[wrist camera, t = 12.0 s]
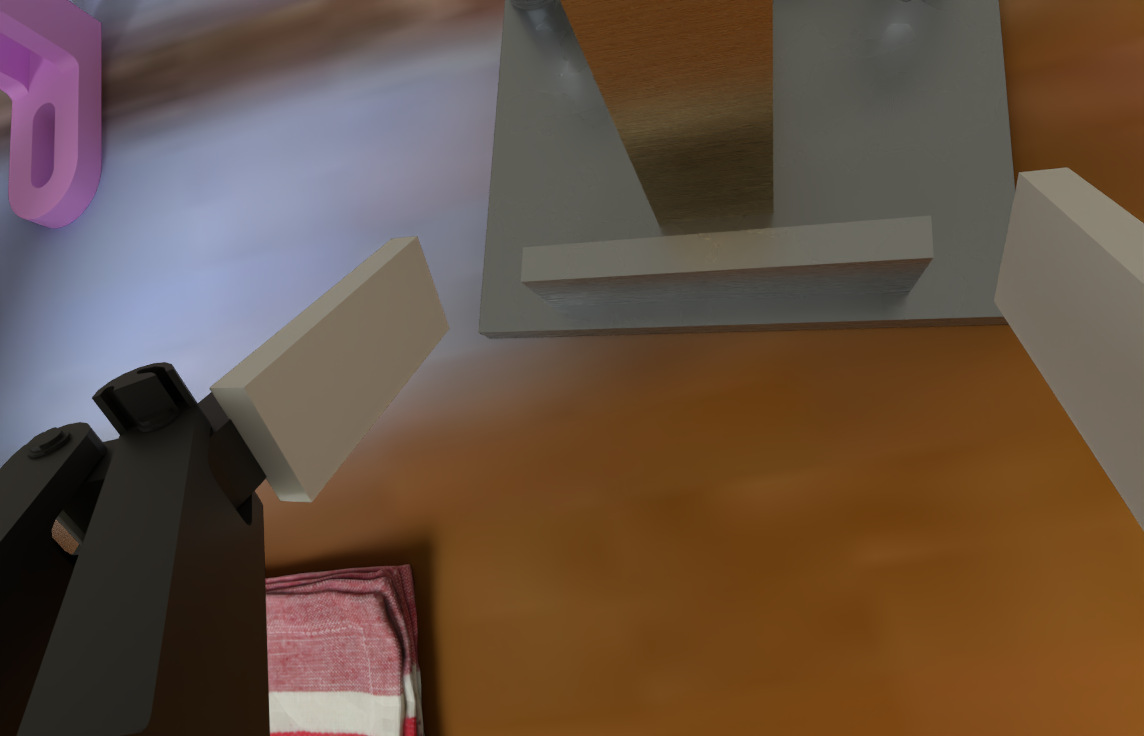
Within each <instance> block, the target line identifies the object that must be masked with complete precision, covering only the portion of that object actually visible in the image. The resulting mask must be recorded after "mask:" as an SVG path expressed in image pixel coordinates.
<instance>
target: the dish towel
mask: <svg viewBox="0 0 1144 736" xmlns="http://www.w3.org/2000/svg"><path fill="white" fill-rule="evenodd" d="M265 584H266V617H267V650H268V683H269V715H270V736H425V734H424V727H423V716H422V705H421V678H420V669H419V665H418V653H417V638H418V630H417V613H416V604H415V589H414V580H413V575H412V568H411V566H410V565H409V564H405V565H400V566H376V567H363V568H348V569H340V570H333V571H324V572H308V573H301V574H294V575H287V576H280V577H274V578H266V579H265Z"/></svg>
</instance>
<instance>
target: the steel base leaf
mask: <svg viewBox="0 0 1144 736" xmlns="http://www.w3.org/2000/svg"><path fill="white" fill-rule="evenodd" d="M773 193H774V213H773V214H761V215H749V216H738V217H726V218H714V219H702V220H691V221H679V222H667V223H658V222H657V220H656V217H655V215H654V213H653V211H652V208H651V206H650V204H649V201H648V199H647V197H646V195H645V192H644V190H643V188H642V185H641V183H640V181H639V179H638V176H637V174H636V172H635V170H634V167H633V165H632V163H631V160H630V158H629V156H628V154H627V151H626V149H625V147H624V145H623V142H622V140H621V138H620V135H619V133H618V131H617V129H616V126H615V124H614V122H613V120H612V117H611V115H610V113H609V110H608V108H607V106H606V104H605V101H604V99H603V97H602V95H601V92H600V90H599V88H598V85H597V83H596V81H595V79H594V76H593V74H592V72H591V70H590V67H589V65H588V63H587V60H586V58H585V56H584V54H583V51H582V49H581V47H580V45H579V42H578V40H577V38H576V35H575V33H574V31H573V29H572V26H571V24H570V22H569V20H568V17H567V15H566V13H565V10H564V8H563V6H562V4H561V1H560V0H505V9H504V21H503V33H502V46H501V58H500V71H499V83H498V96H497V108H496V120H495V133H494V145H493V158H492V170H491V183H490V195H489V208H488V220H487V232H486V245H485V257H484V270H483V282H482V295H481V307H480V320H479V332H478V333H480V334H482V335H484V336H486V337H488V338H526V337H563V336H600V335H637V334H674V333H711V332H748V331H785V330H822V329H859V328H897V327H934V326H971V325H1008V322H1007V321H1006V319H1005V318H1004V316H1003V315H1002V313H1001V311H1000V310H999V308H998V307H997V305H996V304H995V302H994V297H995V292H996V287H997V281H998V276H999V271H1000V266H1001V261H1002V256H1003V251H1004V246H1005V241H1006V236H1007V231H1008V226H1009V221H1010V216H1011V211H1012V205H1013V200H1014V195H1015V183H1014V172H1013V160H1012V149H1011V137H1010V126H1009V114H1008V102H1007V91H1006V79H1005V68H1004V56H1003V45H1002V33H1001V22H1000V10H999V0H773Z"/></svg>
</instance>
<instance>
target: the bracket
mask: <svg viewBox="0 0 1144 736" xmlns="http://www.w3.org/2000/svg"><path fill="white" fill-rule="evenodd" d="M0 90H2V91H4V92H5V93H6V94H8V96H9V97H10V98H11V100H12V120H11V142H10V165H9V187H8V196H9V202H10V205H11V208H12V210H13V211H14V213H15V214H16V215H18V216H19V217H21V218H23V219H26V220H29V221H32V222H34V223H37V224H40V225H43V226H46V227H49V228H60V227H64V226H66V225H68V224H70V223H71V222H73V221H74V220H76V219H77V218H78V217H79V216H80V215H81V214H82V213H83V212H84V210H85V209H86V208H87V207H88V205H89V204H90V202H91V200H92V199H93V197H94V195H95V193H96V190H97V187H98V184H99V181H100V176H101V23H100V22H99V21H97V20H96V19H95V18H93V17H92V16H90V15H89V14H87V13H86V12H84V11H83V10H81V9H80V8H79V7H77V6H76V5H74V4H73V3H71V2H70V1H68V0H0Z"/></svg>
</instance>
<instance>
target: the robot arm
mask: <svg viewBox="0 0 1144 736" xmlns="http://www.w3.org/2000/svg"><path fill="white" fill-rule="evenodd" d="M994 302H995V304H996V305H997V307H998V308H999V310H1000V311H1001V313H1002V315H1003V316H1004V318H1005V319H1006V321H1007V322H1008V324H1009V325H1010V327H1011V328H1012V330H1013V331H1014V333H1015V334H1016V336H1017V338H1018V339H1019V341H1020V342H1021V344H1022V345H1023V347H1024V348H1025V350H1026V351H1027V353H1028V354H1029V356H1030V357H1031V359H1032V360H1033V362H1034V364H1035V365H1036V367H1037V368H1038V370H1039V371H1040V373H1041V374H1042V376H1043V377H1044V379H1045V380H1046V382H1047V383H1048V385H1049V387H1050V388H1051V390H1052V391H1053V393H1054V394H1055V396H1056V397H1057V399H1058V400H1059V402H1060V403H1061V405H1062V406H1063V408H1064V410H1065V411H1066V413H1067V414H1068V416H1069V417H1070V419H1071V420H1072V422H1073V423H1074V425H1075V426H1076V428H1077V429H1078V431H1079V433H1080V434H1081V436H1082V437H1083V439H1084V440H1085V442H1086V443H1087V445H1088V446H1089V448H1090V449H1091V451H1092V452H1093V454H1094V456H1095V457H1096V459H1097V460H1098V462H1099V463H1100V465H1101V466H1102V468H1103V469H1104V471H1105V472H1106V474H1107V475H1108V477H1109V479H1110V480H1111V482H1112V483H1113V485H1114V486H1115V488H1116V489H1117V491H1118V492H1119V494H1120V495H1121V497H1122V498H1123V500H1124V502H1125V503H1126V505H1127V506H1128V508H1129V509H1130V511H1131V512H1132V514H1133V515H1134V517H1135V518H1136V520H1137V521H1138V523H1139V525H1140V526H1141V528H1142V529H1143V531H1144V223H1143V222H1141V221H1140V220H1138V219H1137V218H1136V217H1134V216H1133V215H1132V214H1130V213H1129V212H1128V211H1126V210H1125V209H1123V208H1122V207H1121V206H1119V205H1118V204H1117V203H1115V202H1114V201H1113V200H1111V199H1110V198H1109V197H1107V196H1106V195H1104V194H1103V193H1102V192H1100V191H1099V190H1098V189H1096V188H1095V187H1094V186H1092V185H1091V184H1090V183H1088V182H1087V181H1085V180H1084V179H1083V178H1081V177H1080V176H1079V175H1077V174H1076V173H1075V172H1073V171H1072V170H1070V169H1069V168H1068V167H1066V168H1056V169H1047V170H1038V171H1028V172H1019V175H1018V180H1017V185H1016V190H1015V195H1014V200H1013V205H1012V211H1011V216H1010V221H1009V226H1008V231H1007V236H1006V241H1005V246H1004V251H1003V256H1002V261H1001V266H1000V271H999V276H998V281H997V287H996V292H995V297H994ZM448 330H449V326H448V323H447V320H446V317H445V314H444V311H443V309H442V306H441V303H440V300H439V297H438V294H437V291H436V288H435V286H434V283H433V280H432V277H431V274H430V271H429V268H428V265H427V263H426V260H425V257H424V254H423V251H422V248H421V245H420V242H419V240H418V237H417V236H413V237H404V238H394V239H391V240H390V241H388V242H387V243H386V244H385V245H384V246H382V247H381V248H380V249H379V250H377V251H376V252H375V253H374V254H373V255H371V256H370V257H369V258H368V259H366V260H365V261H364V262H363V263H362V264H360V265H359V266H358V267H357V268H355V269H354V270H353V271H352V272H351V273H349V274H348V275H347V276H346V277H344V278H343V279H342V280H341V281H340V282H338V283H337V284H336V285H335V286H333V287H332V288H331V289H330V290H329V291H327V292H326V293H325V294H324V295H322V296H321V297H320V298H319V299H318V300H316V301H315V302H314V303H313V304H311V305H310V306H309V307H308V308H307V309H305V310H304V311H303V312H302V313H300V314H299V315H298V316H297V317H296V318H294V319H293V320H292V321H291V322H289V323H288V324H287V325H286V326H285V327H283V328H282V329H281V330H280V331H278V332H277V333H276V334H275V335H274V336H272V337H271V338H270V339H269V340H267V341H266V342H265V343H264V344H263V345H261V346H260V347H259V348H258V349H256V350H255V351H254V352H253V353H252V354H250V355H249V356H248V357H247V358H245V359H244V360H243V361H242V362H241V363H239V364H238V365H237V366H236V367H234V368H233V369H232V370H231V371H230V372H228V373H227V374H226V375H225V376H223V377H222V378H221V379H220V380H219V381H217V382H216V383H215V384H214V385H212V386H211V387H210V390H211V393H210V394H209V395H208V396H206V397H205V398H204V399H203V400H201V401H200V402H199V403H198V404H197V402H196V401H195V399H194V397H193V396H192V394H191V393H190V391H189V390H188V388H187V387H186V385H185V384H184V382H183V381H182V379H181V378H180V376H179V374H178V373H177V371H176V370H175V368H174V367H173V365H172V364H169V363H165V362H163V363H154V364H150V365H147V366H143V367H139V368H137V369H134V370H132V371H130V372H127V373H125V374H123V375H121V376H119V377H117V378H116V379H114V380H112V381H110V382H109V383H107V384H106V385H105V386H103V387H102V388H101V389H99V390H98V391H97V392H96V394H95V395H94V396H93V397H92V399H93V400H94V402H95V403H96V404H97V405H98V407H99V408H100V409H101V411H102V412H103V413H104V415H105V416H106V417H107V419H108V420H109V421H110V422H111V424H112V425H113V426H114V428H115V429H116V430H117V432H118V433H119V434H120V436H119V439H115V440H111V441H106V442H102V441H101V440H100V438H99V437H98V436H97V434H96V433H95V432H94V431H93V429H92V428H91V427H90V426H89V424H88V423H81V422H79V423H73V424H68V425H65V426H62V427H59V428H56V427H55V428H52V429H49V430H47V431H46V432H43V433H41V434H39V435H37V436H35V437H34V438H33V439H32V440H31V441H30V442H29V443H28V444H26V445H24V446H23V447H22V448H21V449H19V450H18V451H17V452H16V453H15V454H14V455H13V456H12V457H11V458H10V459H9V460H8V461H7V462H6V463H5V464H4V465H3V466H2V467H1V468H0V736H270V715H269V683H268V650H267V617H266V584H265V552H264V519H263V505H262V502H261V500H260V499H259V497H258V495H257V494H256V492H255V490H256V488H257V487H258V486H259V485H260V484H261V483H262V482H263V481H264V480H265V479H267V481H268V482H269V484H270V485H271V487H272V488H273V490H274V492H275V493H276V495H277V496H278V498H279V500H280V501H296V502H312V501H313V500H314V499H315V498H316V496H317V495H318V494H319V492H320V491H321V490H322V489H323V487H324V486H325V485H326V484H327V482H328V481H329V480H330V479H331V477H332V476H333V475H334V474H335V472H336V471H337V470H338V468H339V467H340V466H341V465H342V463H343V462H344V461H345V460H346V458H347V457H348V456H349V455H350V453H351V452H352V451H353V450H354V448H355V447H356V446H357V445H358V443H359V442H360V441H361V439H362V438H363V437H364V436H365V434H366V433H367V432H368V431H369V429H370V428H371V427H372V426H373V424H374V423H375V422H376V421H377V419H378V418H379V417H380V415H381V414H382V413H383V412H384V410H385V409H386V408H387V407H388V405H389V404H390V403H391V402H392V400H393V399H394V398H395V397H396V395H397V394H398V393H399V391H400V390H401V389H402V388H403V386H404V385H405V384H406V383H407V381H408V380H409V379H410V378H411V376H412V375H413V374H414V373H415V371H416V370H417V369H418V367H419V366H420V365H421V364H422V362H423V361H424V360H425V359H426V357H427V356H428V355H429V354H430V352H431V351H432V350H433V349H434V347H435V346H436V345H437V344H438V342H439V341H440V340H441V338H442V337H443V336H444V335H445V333H446V332H447V331H448ZM55 519H57V520H58V521H59V523H60V524H61V525H62V526H63V527H64V528H65V529H66V530H67V531H68V532H69V533H70V534H71V536H72V537H73V538H74V539H75V540H76V541H77V542H78V543H79V546H78V547H77V549H76V550H75V552H74V553H73V554H72V555H71V554H69V553H67V552H66V551H64V550H63V548H62V547H61V546H60V545H59V544H58V543H57V542H56V541H55V540H54V539H53V538H52V530H51V529H52V527H53V524H54V522H55Z"/></svg>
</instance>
